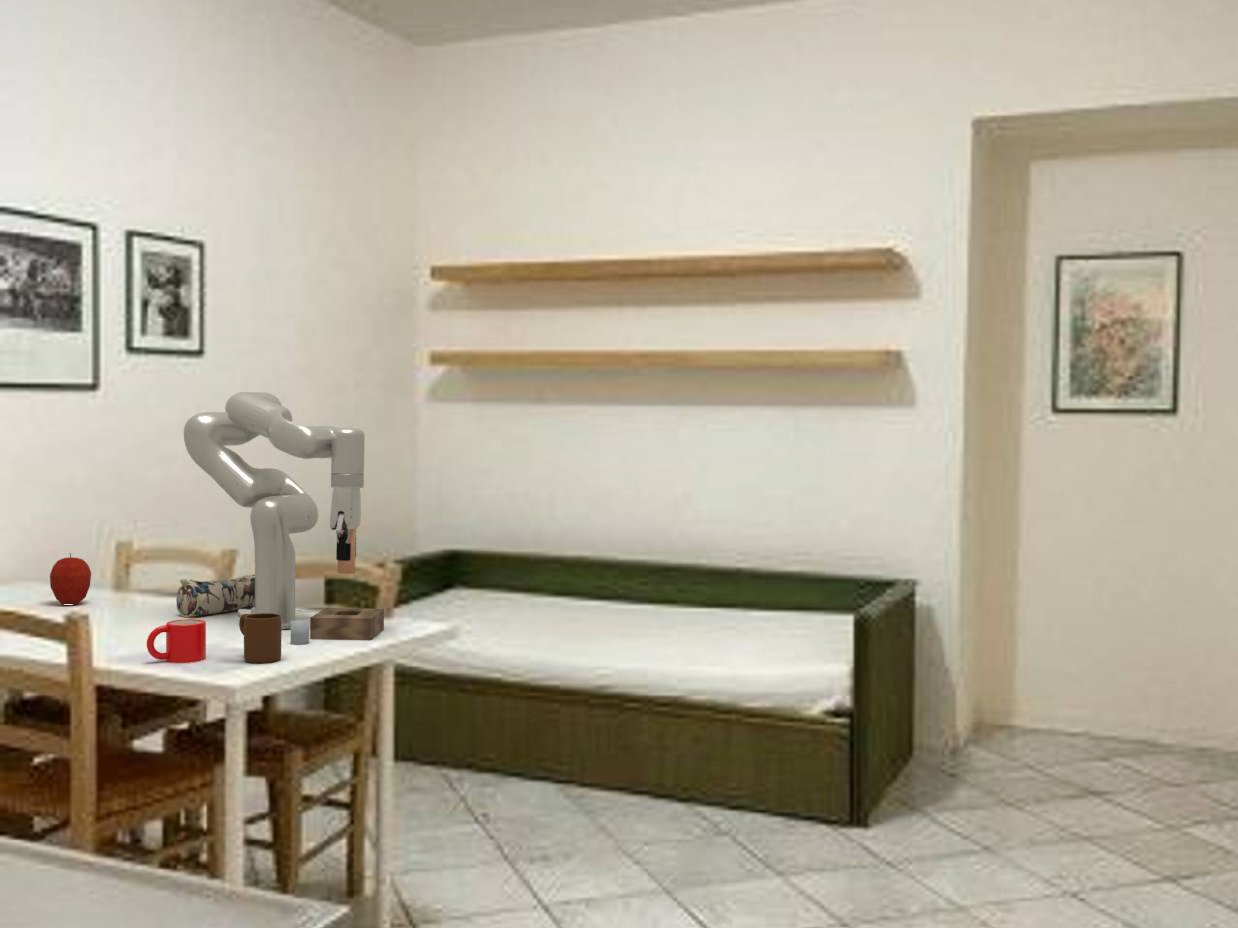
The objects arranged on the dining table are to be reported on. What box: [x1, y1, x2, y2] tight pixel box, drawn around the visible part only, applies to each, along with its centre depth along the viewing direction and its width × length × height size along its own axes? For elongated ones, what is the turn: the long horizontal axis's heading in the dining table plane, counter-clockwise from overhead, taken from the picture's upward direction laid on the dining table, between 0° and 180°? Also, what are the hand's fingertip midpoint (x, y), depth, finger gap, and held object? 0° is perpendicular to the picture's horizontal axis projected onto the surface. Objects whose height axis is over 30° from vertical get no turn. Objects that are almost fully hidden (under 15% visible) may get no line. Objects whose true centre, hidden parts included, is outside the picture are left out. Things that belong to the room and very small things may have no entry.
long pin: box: [337, 526, 357, 574], centre depth 288 cm, size 4×4×12 cm
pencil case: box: [176, 573, 255, 619], centre depth 318 cm, size 22×8×10 cm, turn 144°
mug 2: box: [238, 613, 282, 664], centre depth 260 cm, size 12×8×9 cm, turn 49°
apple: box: [49, 552, 92, 605], centre depth 328 cm, size 10×10×14 cm
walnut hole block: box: [309, 607, 385, 641], centre depth 290 cm, size 14×14×5 cm
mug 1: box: [146, 618, 207, 664], centre depth 257 cm, size 8×12×8 cm, turn 130°
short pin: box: [290, 619, 310, 646], centre depth 278 cm, size 4×4×5 cm
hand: (346, 558), depth 289 cm, fingers closed on long pin, 4 cm apart
